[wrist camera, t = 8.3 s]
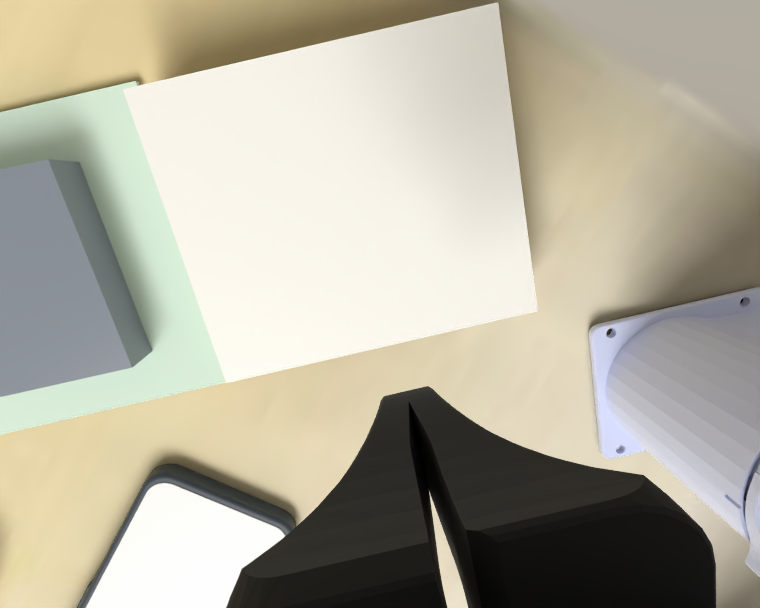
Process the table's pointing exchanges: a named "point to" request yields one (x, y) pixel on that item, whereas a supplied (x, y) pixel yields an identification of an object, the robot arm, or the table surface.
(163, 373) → the mat
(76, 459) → the table surface
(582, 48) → the table surface
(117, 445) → the table surface
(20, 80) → the table surface
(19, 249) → the thick grey-blue block
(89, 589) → the phone case
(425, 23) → the white flat block
